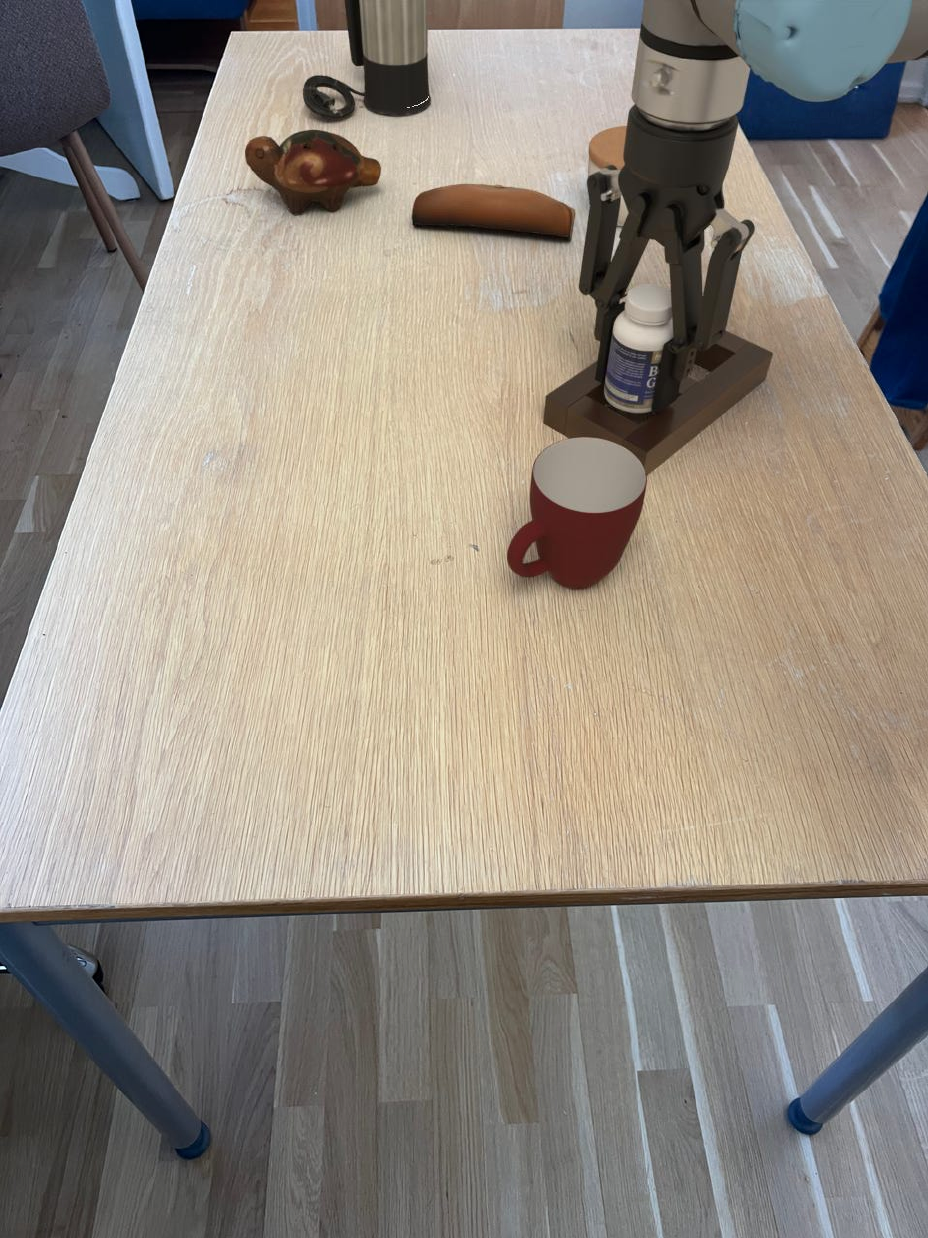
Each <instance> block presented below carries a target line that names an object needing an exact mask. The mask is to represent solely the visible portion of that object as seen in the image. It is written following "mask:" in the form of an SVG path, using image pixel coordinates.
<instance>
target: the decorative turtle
mask: <svg viewBox="0 0 928 1238" xmlns="http://www.w3.org/2000/svg"><path fill="white" fill-rule="evenodd" d="M244 158H245V162H246V165H247V167H249V169H250V170H251V171H252V172H253V174H254V175H255V176H256V177H258V178H259V179H260V180H261V181H262V182H264V183H265V184H267V185H269V186H270V187H272V188H273V189H275V190H276V191H277V193H278V194H279V196H280V197H281V199H282V200H283V202H284V204H285V205H286V207H287V209H288V211H289V212H291V213H292V214H294V215H299V214H301V213H302V212H303V211H304V210H305V209H306V208H307V206H308V205H309V204H310V203H311V202H312V201H315V202H318V203H319V204H320V205H322V206H323V207H324V208H325V209H326V210H327V211H329V212H332V213H335V212H336V211H337V210H339V208H340V207H341V205H342V202H343V200H344V197H345V195H346V194H347V192H348V190H349V189H351V188H361V187H371V186H372V187H373V186H376V185H377V184H378V182H379V180H380V177H381V173H382V167H381V164H380V162H379V160H378V159H376V158H373V157H367V156H364V155H362V154H361V152H360V150H359V149H358V147H356V146H355V144H353V143H352V142H351V141H350V140H348V139H347V138H345V137H343V136H342V135H340V134H337V133H334V132H329V131H326V130H321V129H306V130H301V131H297V132H294V133H292V134H291V135H288V137H287V138H286V139H284V140H283V141H282V142H281V144H280V145H279V144H278V142H276V140H275V139H273V138H272V137H271V136H267V135H261V136H256V137H254V138H252V139H250V140H249V141H248V142H247V144H246V146H245V148H244Z"/></svg>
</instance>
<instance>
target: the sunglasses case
mask: <svg viewBox="0 0 928 1238" xmlns="http://www.w3.org/2000/svg"><path fill="white" fill-rule="evenodd" d="M411 212H412V213H411V223H412V226H413V227H414V225H420V226H427V225H428V226H445V227H446V226H456V227H465V226H472V227H476V228H484V229H490V230H491V229H492V230H507V231H508V230H510V231H514V232H520V233H532V234H540V235H548V236H549V235H550V236H558V237H563V238H565V237H567V238H566V239H568V240H569V241H570V242H571V241H572V237H573V232H574V224H575V218H576V210H575V208H573V206H572V207H571V206H569V205H568V204H567V203H565V202H562V201H560V200H557V199H555V198H553V197H551V196H549V195H547V194H544V193H542V192H539V191H537V190H533V189H529V188H523V187H516V186H503V185H502V184H495V185H493V184H483V183H457V184H448V185H444V186H439V187H434V188H431V189H428V190H424V191H421V192H420V193H419V194H418V195H417V196H416V197H415V199H414V201H413V205H412V211H411Z"/></svg>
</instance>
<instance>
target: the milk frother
mask: <svg viewBox="0 0 928 1238" xmlns="http://www.w3.org/2000/svg"><path fill="white" fill-rule="evenodd" d="M428 5H429V3H428V0H344V9H345V18H346V27H347V36H348V42H349V51H350V52H349V53H350V59H351V63H352V65H354V66H355V67H363V77H364V79H363V81H364V87H363V88H364V91H363V92H362V91H361V92H360V91H358V90H357V89H354V88H353V87H351V86H349V85H348V84H346V83H345V82H344V81H341V80H339V79H336V78H334V77H331V76H329V75H321V74H320V75H319V74H315V75H312V76H310V77H308V78H307V79H306V81H305V82H304V84H303V88H302V99H303V102H304V104H305V106H306V107H307V108H308V110H309V111H311V113H313V114H314V115H316V116H318V117H320V118H322V119H326V120H342V119H345V118H348V117H350V116H351V115H352V114H353V113H354V111H355V108H356V100H355V97H354V95H353V94H355V95H357V94H358V95H357V96H361V97H363V99H362V101H363V104H364V106H365V107H366V108H367V109H369V110H370V111H371V112H374V113H376V114H381V115H386V116H401V117H402V116H407V115H414V114H418V113H421V112H422V111H424V110H426V109H427V108H428V107H429V106H430V105H431V103H432V97H431V95H430V87H429V86H430V85H429V52H428V49H429V36H428V35H429V17H428V16H429V14H428V13H429V11H428V7H429V6H428ZM318 88H327V89H328V88H329V89H331V90H334V91H336V92H337V93H339V94H340V95H341V96H342V98H343V99H344V102H345V105H344V106H343V107H342V108H339V109H337V108H336V107H335V104H336V98H335V97H331V96H329V95H328V94H327V93H325V92H323V91H320V90H319V89H318ZM428 96H429V98H428ZM427 98H428V100H427V101H425V100H426V99H427ZM423 101H425V102H424V103H422V104H420V103H421V102H423ZM418 104H420V105H418ZM414 105H418V106H414ZM412 106H414V107H412ZM407 107H410V108H407Z"/></svg>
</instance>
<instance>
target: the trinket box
mask: <svg viewBox="0 0 928 1238" xmlns="http://www.w3.org/2000/svg"><path fill="white" fill-rule="evenodd" d="M626 129H627V125H621V126H620V125H619V126H613V127H609V128H607V129H604V130H601V131H599V132H598V133H596V134H595V135H594V136H593V137H591V139H590V141H589V144H588V161H587V163H588V164H587V178H588V177H589V176H590V175H592V174H594V173H596V172H598V171H600V170H601V169H603V168H605V167H607V166H609V165H614V166H615V167H616V168H617V170H621V169H622V168H623V166H624V164H625V163H624V159H623V151H624V144H625V136H626ZM627 215H628V210H627V207H626V204H625V202H624V199H623V196H622V195H621V203H620V210H619V216H618V222H617V227H621V228H622V227H623V225H624V223H625V220H626V218H627Z"/></svg>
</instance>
